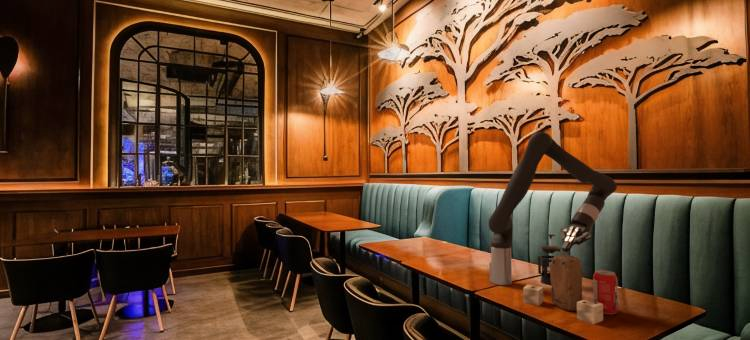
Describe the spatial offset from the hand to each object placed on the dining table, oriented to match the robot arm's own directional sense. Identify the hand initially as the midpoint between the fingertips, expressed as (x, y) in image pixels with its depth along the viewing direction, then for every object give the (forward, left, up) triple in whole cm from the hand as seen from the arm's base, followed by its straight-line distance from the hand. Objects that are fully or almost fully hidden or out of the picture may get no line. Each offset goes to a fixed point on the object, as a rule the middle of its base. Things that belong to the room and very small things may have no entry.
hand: (564, 250), depth 144 cm
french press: (-19, +28, -22) cm, 40 cm away
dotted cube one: (-11, -4, -22) cm, 25 cm away
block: (0, 0, -22) cm, 22 cm away
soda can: (+12, +6, -22) cm, 26 cm away
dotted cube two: (+11, -6, -22) cm, 26 cm away
